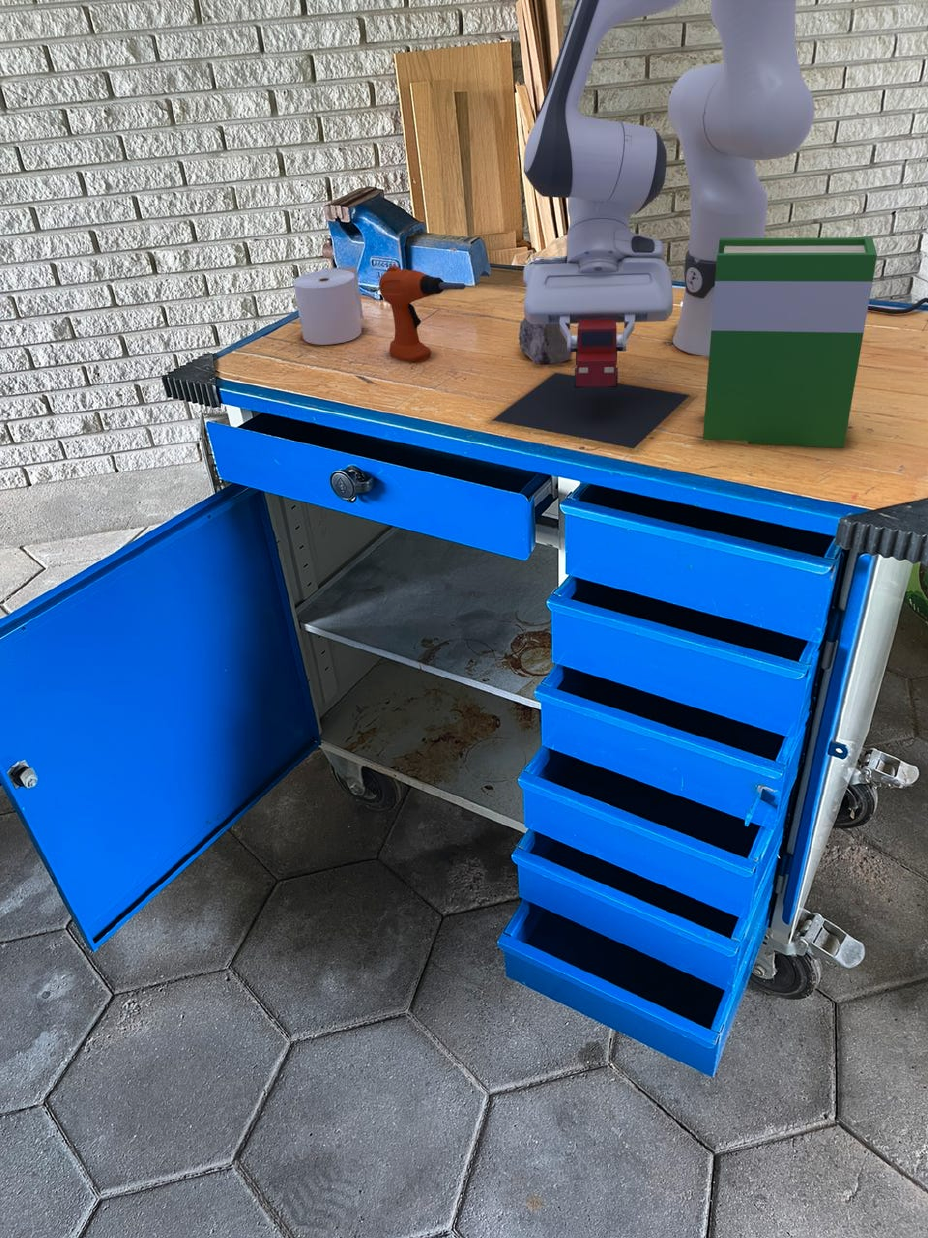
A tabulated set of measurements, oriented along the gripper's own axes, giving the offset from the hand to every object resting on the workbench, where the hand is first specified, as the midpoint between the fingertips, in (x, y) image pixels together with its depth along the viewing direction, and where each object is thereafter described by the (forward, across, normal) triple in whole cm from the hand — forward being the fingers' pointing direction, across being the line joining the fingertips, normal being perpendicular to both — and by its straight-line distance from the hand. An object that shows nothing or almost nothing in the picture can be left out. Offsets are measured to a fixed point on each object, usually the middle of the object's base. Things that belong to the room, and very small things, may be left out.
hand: (596, 350), depth 131 cm
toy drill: (-9, -27, +23) cm, 37 cm away
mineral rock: (-11, -8, +25) cm, 28 cm away
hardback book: (+11, +23, +2) cm, 26 cm away
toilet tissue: (-19, -47, +34) cm, 61 cm away
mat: (+5, -1, +8) cm, 10 cm away
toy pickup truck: (+2, 0, +5) cm, 5 cm away
